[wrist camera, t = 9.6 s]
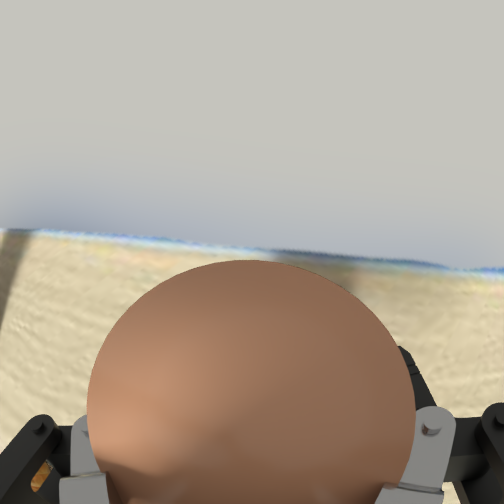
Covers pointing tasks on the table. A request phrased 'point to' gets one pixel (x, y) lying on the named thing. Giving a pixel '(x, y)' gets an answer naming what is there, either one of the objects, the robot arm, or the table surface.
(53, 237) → the table surface
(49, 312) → the table surface
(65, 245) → the table surface
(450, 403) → the table surface
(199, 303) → the cup
